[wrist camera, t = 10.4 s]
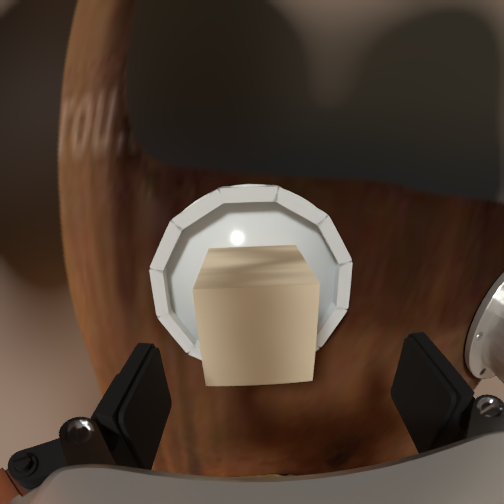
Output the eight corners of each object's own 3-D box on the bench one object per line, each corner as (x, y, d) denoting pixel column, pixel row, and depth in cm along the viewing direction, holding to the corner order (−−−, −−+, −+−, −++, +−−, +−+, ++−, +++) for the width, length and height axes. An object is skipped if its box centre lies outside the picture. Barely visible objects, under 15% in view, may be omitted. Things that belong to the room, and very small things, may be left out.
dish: (349, 183, 17) (357, 184, 16) (336, 354, 20) (341, 365, 19) (147, 189, 17) (139, 192, 16) (170, 360, 20) (167, 372, 19)
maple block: (295, 244, 17) (320, 283, 12) (294, 320, 19) (312, 380, 13) (208, 248, 17) (192, 289, 12) (215, 324, 19) (206, 386, 13)
